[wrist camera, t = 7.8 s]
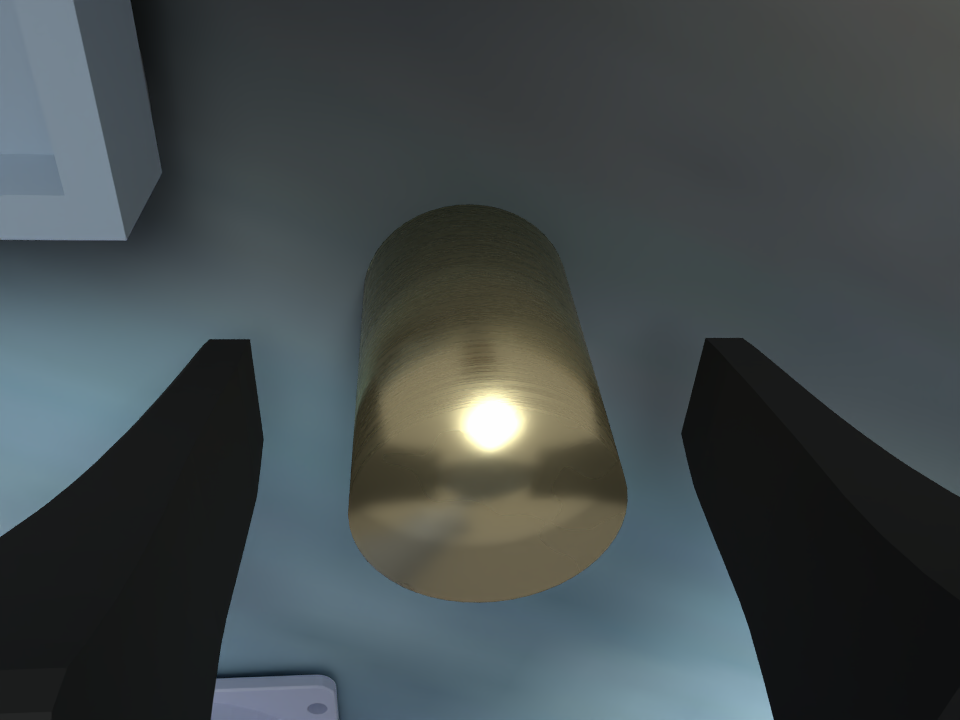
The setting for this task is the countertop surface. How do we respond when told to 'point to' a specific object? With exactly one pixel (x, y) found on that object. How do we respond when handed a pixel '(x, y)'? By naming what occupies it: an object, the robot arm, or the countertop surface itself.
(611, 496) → the brass cylinder
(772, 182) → the countertop surface
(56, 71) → the grey square tray
